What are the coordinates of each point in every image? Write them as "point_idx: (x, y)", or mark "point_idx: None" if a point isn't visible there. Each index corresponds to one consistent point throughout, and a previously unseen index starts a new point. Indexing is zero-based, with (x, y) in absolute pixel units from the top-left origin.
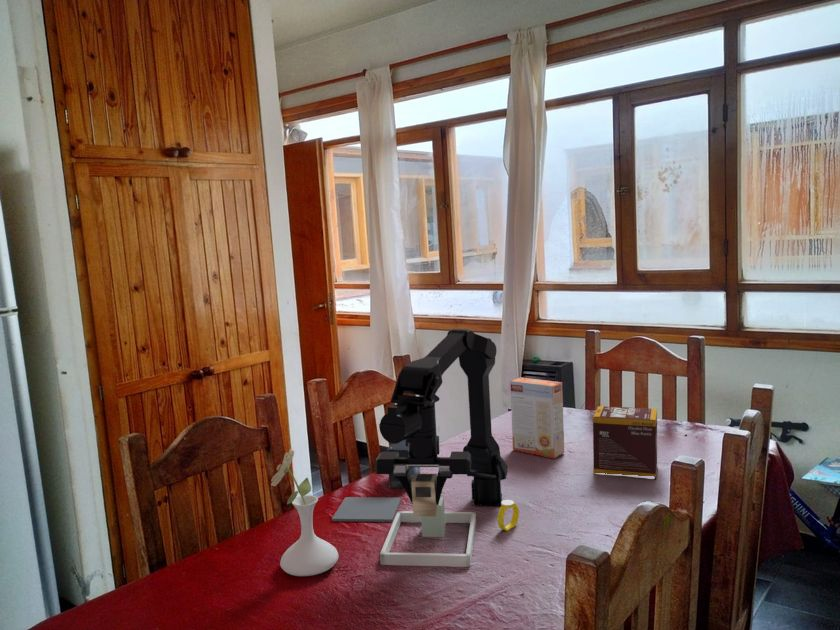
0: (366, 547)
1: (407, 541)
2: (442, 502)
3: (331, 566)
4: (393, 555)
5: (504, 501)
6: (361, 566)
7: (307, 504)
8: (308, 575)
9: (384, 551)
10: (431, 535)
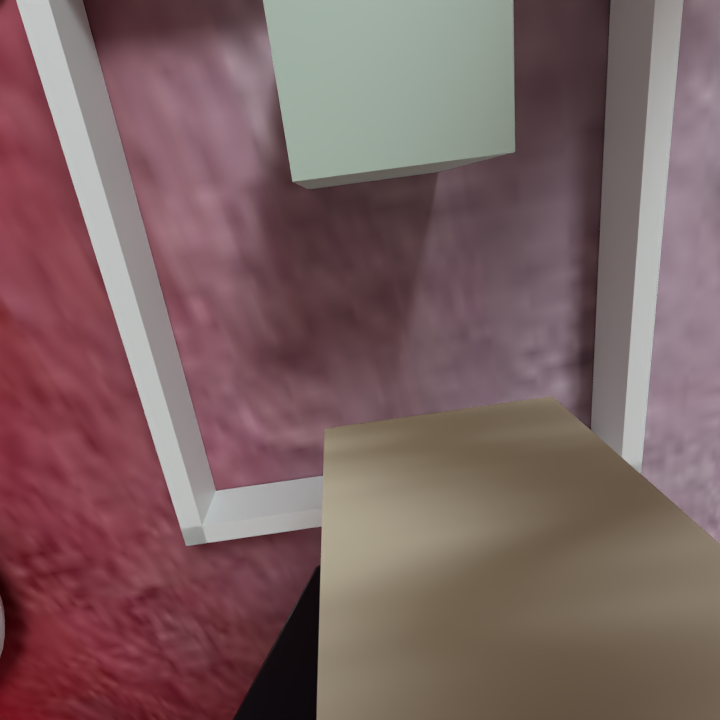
0: (39, 372)
1: (239, 264)
2: (513, 52)
3: (4, 634)
4: (257, 533)
5: None
6: (120, 534)
7: None
8: None
9: (197, 519)
10: (367, 181)
